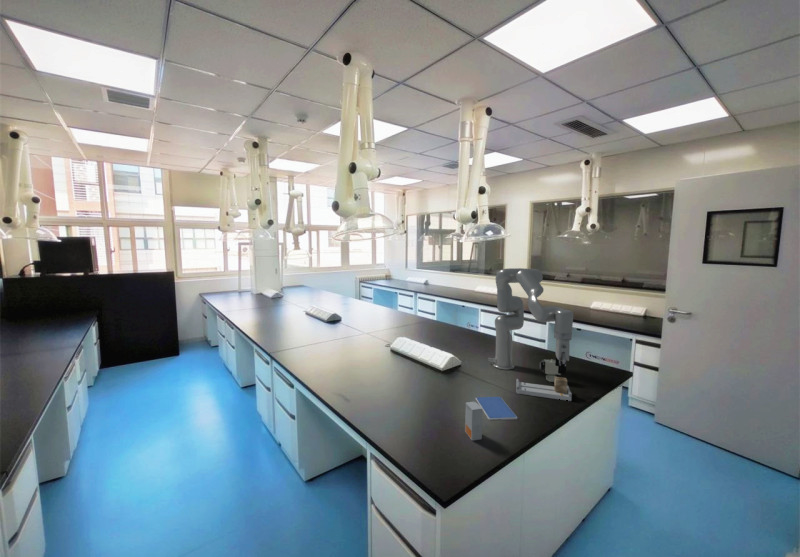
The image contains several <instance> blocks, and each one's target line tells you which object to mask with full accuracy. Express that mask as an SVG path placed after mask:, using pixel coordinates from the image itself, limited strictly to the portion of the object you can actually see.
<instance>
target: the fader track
mask: <svg viewBox="0 0 800 557" xmlns="http://www.w3.org/2000/svg"><path fill="white" fill-rule="evenodd" d="M515 381H516V382H515V385H516V387H515V390H516V394H518V395H519V394H520V395H526V396H531V397H537V398H538V397H539V398H545V399H546V398H547V399H552V400H559V399H560V400H561V401H566V400H568V402H572V396H573V394H572V392H571V389H570V386H569V385H568V384H567V393H563V392H555V390H554V386H552V385H546V384H537V383H529V382H522V381H520V380H519V379H518V378H516V380H515Z"/></svg>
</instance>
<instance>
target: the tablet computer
mask: <svg viewBox="0 0 800 557" xmlns="http://www.w3.org/2000/svg"><path fill="white" fill-rule="evenodd" d="M475 400H476V401H475V402H476V403H477V404H478V405H479V406H480V407H481V408H482V412H483V413H484V415H485V416H486V418H487V419H488V420H489V421H505V420H508V421H509V420H510V421H511V420H512V421H513V420H518V419H519V418H518V416H517V415H516V414H515V412H514V411H513V410H512V409H511V408H510V406H509V405H508V404H507V403H506V401H505V400H504V399H503V397H501V396H482V397H481V396H479V397H478V396H477V397H475Z"/></svg>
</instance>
